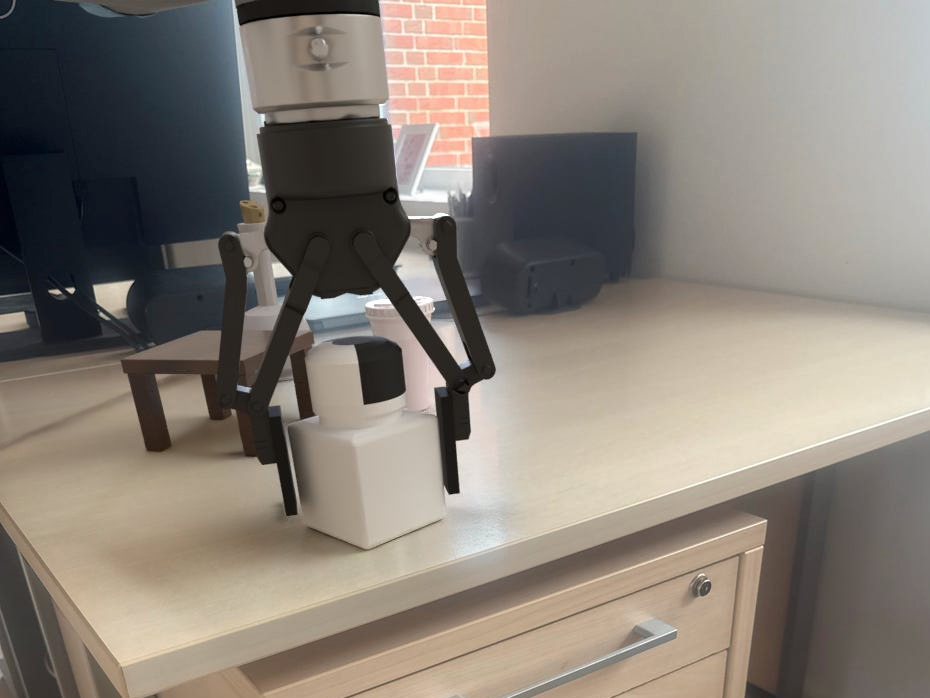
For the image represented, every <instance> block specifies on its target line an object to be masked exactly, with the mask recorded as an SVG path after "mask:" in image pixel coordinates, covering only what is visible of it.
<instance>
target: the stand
mask: <svg viewBox="0 0 930 698" xmlns="http://www.w3.org/2000/svg"><path fill="white" fill-rule="evenodd" d="M271 333H272V330H243V337H242V347H241V356H240V366H239V376H238V385H239V386H244V387H248V388H251V386H252V383H253V381H254V378H255V375H256V373H255V371H256V370H258V367H259V365H260V362H261V359H262V357H263V354H264V352H265V349H266V346H267V344H268V341H269V338H270V336H271ZM220 340H221V330H198V331H196V332H193V333H190V334H187V335H185V336H181V337H179V338H176V339H174V340H170V341H168V342H164V343H162V344H159V345H157V346H154V347H151V348H148V349H145V350H142V351H140V352H136V353H134V354H131V355H129V356H126V357H123V358H121V359H119V360H120V364H121V368H122V373H123V374H126V375H127V378H128V382H129V387H130V392H131V395H132V399H133V403H134V408H135V411H136V415H137V418H138V419H137V420H138V422H139V427H140V430H141V434H142V435H141V436H142V438H143V444H144V446H145V447H144V448H145V450H146V451H147V452H163V451H165V450H167V449H169V448H171V447H172V446H173V445H172V441H171V436H170V431H169V428H168V424H167V419H166V414H165V411H164V405H163V402H162V397H161V393H160V390H159V389H160V388H159V386H158V381H157V376H156V375H193V376H194V375H195V376H196V375H197V376H198V375H199V376H200V379H201V383H202V389H203V394H204V398H205V402H206V407H207V413H208V417H209V419H210V420H225V419H227V418H229V417H231V416H233V412H232V409H222V408H220V407H219V406H218V405H217V404H216V402H215V393H216V382H217V372H218V361H219V350H220ZM314 341H315V337H314V330H311V329H310V330H298V331H297V334H296V337H295V339H294V342H293V344H292V347H291V349H290V352H289V355H290V361H291V367H292V373H293V379H292V380H293V385H294V390H295V397H296V404H297V409H298V415H299V416H298V417H299V421H301V420H304V419H308V418H311V417H314V416H318V415H317V414H315V413H314V412H313V408H312V402H311V396H310V389H309V383H308V376H307V370H306V363H305V356H306V355H307V353H308V351H309V350H310V349H312V345H313V344H314V343H315V344H316V341H315V342H314ZM289 355H288V356H289ZM235 415H236V419H237V424H238V430H239V435H240V440H241V444H242V450H243V455H244V456H251V457H253V456H254V457H257V454H256V448H255V443H254V438H253V433H252V427H251V422H250V419H249V417H248V416H247V415H246V414H245V413H244V412H242V411H238V410H235ZM146 451H145V452H146Z"/></svg>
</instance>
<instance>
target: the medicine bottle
mask: <svg viewBox="0 0 930 698" xmlns="http://www.w3.org/2000/svg"><path fill="white" fill-rule="evenodd" d="M305 363H306V370H307V376H308V383H309V389H310V396H311V402H312V408H313V412H314V413H315V414H317V415H318V416H314V417H311V418H308V419H304V420H301V421H300V420H298V421H297V420H296V421H294V422H292V423H289V424H288V425H287V433H288V439H289V446H290V451H291V452H290V453H291V457H292V463H293V469H294V474H295V475H294V476H295V481H296V487H297V493H298V498H299V504H300V510H301V516H302V522H303V524H304V526H305V527H307V528H310V529H313V530H316V531H318V532H319V533H320V532H321V533H323V534H325V535H328V536H331V537H333V538H336V539H339V540H340V541H344V542H345V543H348V544H351V545H353V546H356V547H359V548H360V549H364V550H371V549H373V548H375V547H378V546H381V545H382V544H383V545H384V544H385V543H388V542H390V541H392V540H394V539H395V540H396V539H397V538H399V537H400V538H401V537H402V536H405V535H407V534H409V533H412V532H414V531H417V530H419V529H422V528H424V527H426V526H429V525H432V524H434V523H436V522H438V521H441V520H443V519H445V518H446V516H447V505H446V504H447V503H446V495H445V486H444V481H443V470H442V458H441V447H440V436H439V424H438V418H437V416H436V414H435V413H434V414H433V413H429V412H425V411H416V410H411V409H407V408H403V406H404V405H406V403H407V394H406V385H405V375H404V366H403V356H402V348H401V347H400V346H399V345H398V344H397V343H396V342H394V341H392V340H389V339H387V338H384V337H380V336H373V335H353V336H352V335H351V336H344V337H337V338H332V339H328V340H325V341H322V342H320V343H318V344H315V347H313V348H312V349H310V350H309V351H308V353H307V355H306V356H305Z"/></svg>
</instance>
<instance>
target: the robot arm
mask: <svg viewBox="0 0 930 698" xmlns="http://www.w3.org/2000/svg"><path fill="white" fill-rule="evenodd" d="M55 1H57V2H67V3H75V4H76V5H77V6H78V7H80V8H82V9H83V10H85V12H87V13H89V14H92V15H94V16H98V17H102V18H117V17H118V18H120V17H121V18H122V17H123V18H124V17H138V18H140V19H145V18H150V17H151V18H152V17H155V16H157V14H158V13H159V12H165V11H169V10H173V9H175V10H176V9H179V8H185V7H191V6H195V5H200V4H205V3H211V2H216V1H217V0H55ZM234 6H235V9H236V14H237V15H236V16H237V22H238V26H239V27H238V30H239V35H240V41H241V47H242V54H243V59H244V60H243V61H244V65H245V72H246V77H247V84H248V90H249V95H250V101H251V107H252V110H253V111H254V112H256V113H257V115H264V119H265V120H263V126H260V127H258V130H259V133H255V135H256V140H257V147H258V152H259V158H260V165H261V166H260V167H261V171H262V177H263V183H264V184H263V185H264V190H265V196H266V203H267V208H268V209H267V210H268V214H267V218H266V221H267V222H266V225H265V229H264V230H257V231H251V232H244V233H239V232H237V233H236V232H235V231H233V230H227V231H224V232H223V233H222V234H221V236H220V237H219V239H218V243H217V246H218V247H217V248H218V251H219V255H220V260H221V264H222V269H223V273H224V276H225V286H224V287H225V288H224V298H223V308H222V319H221V329H220V331H221V340H220V350H219V361H218V372H217V382H216V393H215V402H216V404H217V405H218V406H219V407H220V408H222V409H231V410H234V411H236V410H238V411H242V412H244V413H245V414H246V415H247V416H248V417H249V419H250V422H251V427H252V433H253V438H254V443H255V448H256V454H257V456H256V458H257V460H258V461H259V463H260V465H261V466H266V465H267V466H268V465H275V464H276V467H277V473H278V479H279V484H280V490H281V495H282V502H283V507H284V512H285V517H290V516H298V515H299V512H298V511H299V510H298V501H297V500H298V499H297V494H296V489H295V482H294V477H293V471H292V465H291V460H290V453H289V448H288V442H287V436H286V430H285V425H284V418H283V413H282V407H281V404H279V405H270V403H271V401H272V398H273V396H274V394H275V390H276V388H277V386H278V383H279V381H278V380H279V378H280V375H281V373H282V370H283V368H284V365H285V362H286V360H287V357H288V355H289V352H290V349H291V347H292V344H293V342H294V339H295V337H296V334H297V331H298V329H299V326H300V324H301V321H302V319H303V317H304V316H305V314H306V313H307V311H308V307H309V305H310V303H311V300H312V297H313V296H314V297H316V298H319V299H320V300H329V299H335V298H339V297H341V296H343V295H346V294H349V295H350V294H351V295H355V296H361V297H362V296H369V295H374V293H375V292H377V291H378V290H381V291H382V292H383V293H384V295H385V297H386V298H388V299H389V300H390V302H391V303H392V305H393V306H394V308H395V309H396V310H397V312H398V313H399V315H400V316H401V318H402V319H403V320H404V322H405V323H406V325H407V326H408V328H409V329H410V331H411V332H412V333H413V335H414V336H415V338H416V339H417V341H418V342H419V343H420V345H421V346H422V348H423V349H424V351H425V352H426V354H427V355H428V356H429V358H430V362H432V364H433V365H434V367H435V368H436V370H437V371H438V373H440V376H441V377H442V379H444V381H445V386H437V387H436V386H435V387H433V391H434V392H433V393H434V404H435V415H436V416H437V418H438V424H439V436H440V447H441V458H442V470H443V481H444V489H445V490H446V492H447V494H448V496H451V495H459V494H461V489H460V476H459V464H458V463H459V462H458V453H457V451H458V450H457V442H459V441H468V440H469V439H470V437H471V433H472V428H471V413H470V398H469V397H470V396H469V394H470V392H471V389H472V387H474V386H475V385H476V384H478V383H480V382H481V381H484V380H486V381H488V380H490V379H492V378H493V377H494V376H495V375H496V372H497V369H496V368H497V367H496V365H495V362H494V358H493V355H492V353H491V350H490V347H489V345H488V342H487V338H486V336H485V332H484V330H483V327H482V325H481V322H480V318H479V315H478V313H477V310H476V307H475V303H474V301H473V299H472V296H471V293H470V290H469V287H468V284H467V282H466V279H465V276H464V273H463V270H462V268H461V264H460V262H459V259H458V236H457V235H458V234H457V232H458V231H457V229H458V228H457V223H456V220H455V219H454V218H453V217H452V216H451V215H448V214H445V213H442V212H437V213H435V214H433V215H432V216H408V215H409V214H407V212H406V211H405V209H404V207H403V205H402V202H401V198H400V192H399V182H398V181H399V180H398V171H397V170H398V169H397V161H396V152H395V151H396V149H395V141H394V130H393V124H392V123H389V118H387V117H381V108H380V107H382V106H386V105H387V104H388V102H389V100H390V93H389V83H388V75H387V74H388V73H387V66H386V65H387V64H386V55H385V46H384V45H385V44H384V36H383V28H382V27H383V26H382V19H381V8H380V0H234ZM410 237H413V238H415V239H416V240H417V241H418V244H419V248H420V250H421V251H422V252H423V253H425V255H428V256H431V260H432V263H433V267H434V270H435V272H436V275H437V278H438V280H439V284H440V286H441V289H442V292H443V295H444V297H445V299H446V300H445V301H446V303H447V305H448V308H449V311H450V314H451V316H452V319H453V321H454V324H455V327H456V331H457V333H458V335H459V337H460V340H461V341H460V342H461V343H462V346H463V349H464V352H465V354H466V357H467V360H465V361H463V362H461V363H458V362H457V360H456V359H455V358H454V356H453V355H452V353H451V352H450V351H449V349H448V348H447V345H445V343H444V341H443V340H442V338H441V337H440V335H439V334H438V333H437V331H436V329H435V328H434V327H433V326H432V323H431V324H430V322H429V321H428V319H427V318H426V317H425V315H424V314H423V312H422V311H421V309H420V308H419V306H418V305H417V303H416V302H415V300H414V299H413V297H412V295H411V293H410V291H409V290H408V288H407V287H406V285H405V283H404V282H403V281H402V278H400V276H399V275H398V274H397V272H396V270H395V269H394V267H395V265H396V263H397V261H398V259H399V257H400V256H401V254H402V252H403V250H404V249H405V246H406V244H407V242H408V241H409V238H410ZM266 249H269V250H270V254H272V255H273V256H274V257H275V258H276V260H277V261H278V262H279V263H280V264H281V265H282V266H283V267H284V269H285V270H287V272H288V273H289V274H290V275H291V278H290V282H289V284H288V286H287V289H286V292H285V295H284V298H283V301H282V303H281V304H282V307H281V309H280V312H279V315H278V317H277V320H276V322H275V325H274V328H273V330H272V333H271V336H270V338H269V341H268V344H267V346H266V349H265V352H264V354H263V357H262V359H261V362H260V365H259V367H258V370H257V373H256V375H255V378H254V381H253V383H252V386H251V388H248V387H244V386H239V385H238V376H239V366H240V356H241V347H242V337H243V327H244V318H245V312H246V308H247V297H248V289H249V287H248V286H249V273H253V271H255V270H256V269H257V267H258V265H259V256H260V254H261V252H262V251H264V250H266Z"/></svg>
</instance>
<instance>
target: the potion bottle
mask: <svg viewBox="0 0 930 698" xmlns="http://www.w3.org/2000/svg"><path fill="white" fill-rule="evenodd" d="M239 207H240V211H241V216H242V219H243V222H240V223H236V226H237V229H238V233H244V232H251V231H257V230H264V229H265V225H266V222H267V213H266V205H260V204H259V203H258V204H257V201H255V200H249V199H244V200H240V201H239ZM252 274H253V280H254V285H255V292H256V297H257V303H258V305H257V306H254V307H252V308H250V309H248V310H246V311H245V318H244V327H243V330H273V328H274V325H275V322H276V320H277V317H278V315H279V312H280V309H281V307H282V304H283V303H279V299H278V294H277V293H278V292H277V287H276V281H275V275H274V269H273V263H272V257H271V251H270V250H269V249H266V250H264V251H262V252H261V254H260V256H259V265H258V267H257V269H256V270H255V271H253V272H252ZM298 330H311V328H310V326H309V323H308V321H307V320H306V318H305V317H304V316H303V319H302V321H301V324H300V326H299V329H298ZM314 342H315V343H314V344H313V345H312V348H313V347H315V346H316V341H315V340H314ZM255 373H257V370H256V371H255ZM289 380H294V379H293V373H292V367H291V361H290V355H289V356H288V357H287V360H286V362H285V365H284V368H283V370H282V373H281V375H280V378H279V380H278V382H284V381H289Z"/></svg>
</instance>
